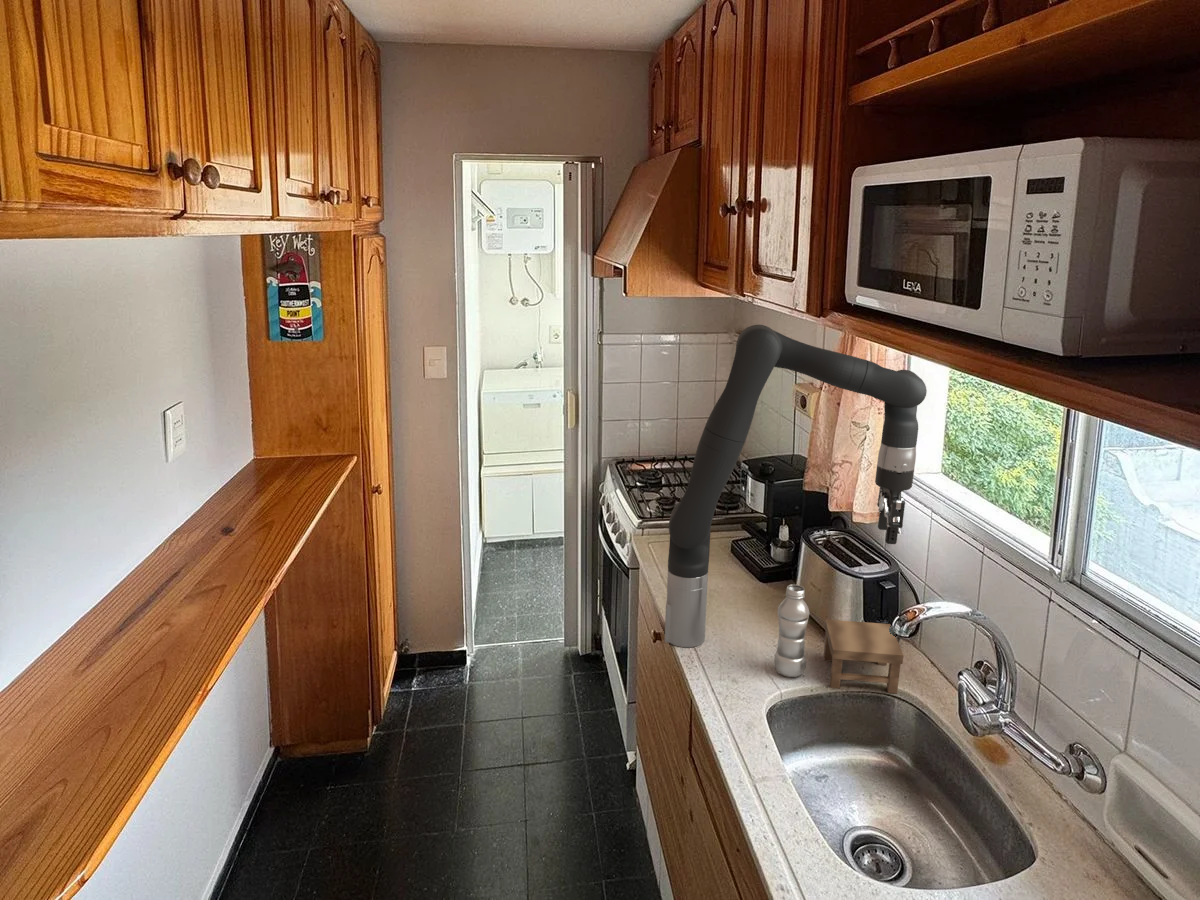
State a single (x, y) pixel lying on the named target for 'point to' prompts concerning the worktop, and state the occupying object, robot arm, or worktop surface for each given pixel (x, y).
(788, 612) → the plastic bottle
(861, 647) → the walnut stool
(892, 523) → the robot arm
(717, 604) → the worktop surface
